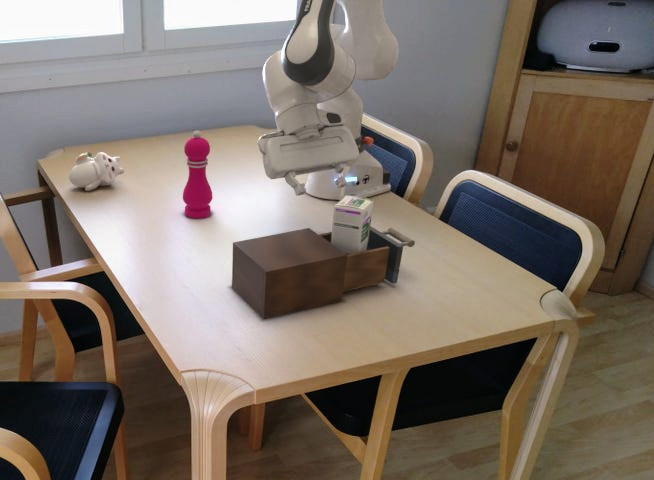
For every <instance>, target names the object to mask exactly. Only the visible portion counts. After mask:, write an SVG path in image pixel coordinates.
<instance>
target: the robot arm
mask: <svg viewBox="0 0 654 480" xmlns="http://www.w3.org/2000/svg"><path fill="white" fill-rule="evenodd" d="M337 4H338V5H339V6H340V7H341V8H342V10H343V13H344V18H345V19H344V20H345V24H341V23H340V24H339V23H332V19H333V15H334V12H335V10H336V5H337ZM298 9H299V10H298V12H297V16H296V19H295V21H294V24H293V25H292V28H291V30H290V32H289V34H288V35H287V37H286V39H285V41H284V43H283V46H282V49H279V50H277V51H276V52H274V53H273V54H271V55H270V56H269V57H268V59H266V61H265V63H264V65H263V68H262V83H263V87H264V91H265V95H266V98H267V101H268V105H269V107H270V108H271V110H272V111H273V113H274V122H275V124H276V129H277V131H274V132H267V133H263V134H262V135H261V136H260V137H258V140H257V146H258V150H259V152H260V154H261V158H262V164H263V169H264V172H265V176H266V177H267V178H269V179H270V180H278V179H283V178H284V181H285V182H286V184H287V185H288V186H290V188H292V189H293V191H294V194H295V196H303V195H305V194H307V195H309V196H312V197H316V198H319V199H324V200H337V201H340V200H342V199H343V198H344V197H345V196H356V197H362V198H370V197H373V196H376V195H379V194H383V193H387V192H389V191H392V185H391V183H390V179H391V172H390V171H389V170H388V169H386V168H385V167H383V165H382V163H381V162H380V161H379V160H378V159H376V158H375V157H374V156H373V155H372V154H370V152H368V151H367V150H366V148H365V145H366V146H367V147H372V146H373V144H374V141H375V140H374V138H373V137H370V136H364V135H362V134H361V130H362V123H363V116H364V115H363V114H364V103H363V101H362V99H361V97H360V96H359V95H358V94H357V93H356V92H355V90H354V88H353V86H352V84H353V82H354V80H358V81H377V80H383V79H385V78H387V77H388V76H389V75H390V74H391V73H392V72H393V70H394V69H395V68H396V66H397V64H398V60H399V56H400V47H399V43H398V40H397V37H396V36H395V35H394V34H393V32H392V31H391V30H390V28H389V26H388V24H387V21H386V17H385V13H384V7H383V0H301V2H300V6H299V8H298ZM301 175H302V176H303V175H307V178H306V181H305V183H301V182H299V180H298V179H297V178H296V177H297V176H301Z"/></svg>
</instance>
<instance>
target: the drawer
mask: <svg viewBox="0 0 654 480" xmlns="http://www.w3.org/2000/svg"><path fill="white" fill-rule="evenodd" d="M317 234H318V235H320V236H321V237H323V238H324V239H326V240H327V241H328V242H330V243H331V236H332V231H329V232H323V233H317ZM388 235H389V236H388ZM391 237H392V238H391ZM393 238H394V239H395V240H394V239H393ZM396 240H397V241H396ZM398 241H399V242H398ZM415 244H416V242H415V240H414V239H412V238H410V237H409V236H407V235H405V234H403V233H402V232H399V230H396V229H395V228H393V227H389V228H388V229H386V230H384V231H380V230H378V229H376V228H375V227H374V226H372V225H370V233H369V242H368V249H367V251H363V252H358V253H353V254H348V256H347V264H346V272H345V279H344V287H343V293H344V292H348V291H352V290H357V289H361V288H366V287H370V286H375V285H379V284H384V283H385V280H386V281H387V282H389V283H390V284H391V285H392V284H397V283H398V280H399V273H400V268H401V261H402V257H403V252H404V251H403V250H404V247H409V248H412V247H414V246H415Z"/></svg>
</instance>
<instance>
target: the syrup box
mask: <svg viewBox="0 0 654 480" xmlns="http://www.w3.org/2000/svg"><path fill="white" fill-rule="evenodd" d="M373 207H374V200H373V199H370V198H368V197H366V198H362V197H356V196H345V197H344V198H343V199H342V200H338V202H337V203H335V205H334V206H333V217H332V228H331V232H332V236H331V244H333V245H334V246H336V247H337V248H338V249H340V250H341V251H343V252H344V253H346V254H347V255H348V254H353V253H358V252H363V251H367V249H368V242H369V233H370V226H372V224H371V223H372V216H373Z"/></svg>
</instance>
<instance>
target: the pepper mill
mask: <svg viewBox="0 0 654 480" xmlns="http://www.w3.org/2000/svg"><path fill="white" fill-rule="evenodd" d="M183 150H184V154H185V156H186V157H187V158H186V166H187V167H188V177H187V181H186V184H185V186H184V188H183V192H182V201H183V202H184V204H185V206H184V215H185V216H186V217H188V218H191V219H203V218H207V217H209V216H210V215H211V204H210V203H211V202H212V201H213V190H212V187H211V185H210V182H209V181H208V177H207V166H208V165H209V162H208V161H209V159H208V158H207V157H208V156H209V155H210V152H211V146H210V143H209V141H208V140H207V139H206V138H204V137H202V133H201V131H200V130H194V132H193V133H192V137H191V138H189V139H188V140H186V141H185V144H184V148H183Z"/></svg>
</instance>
